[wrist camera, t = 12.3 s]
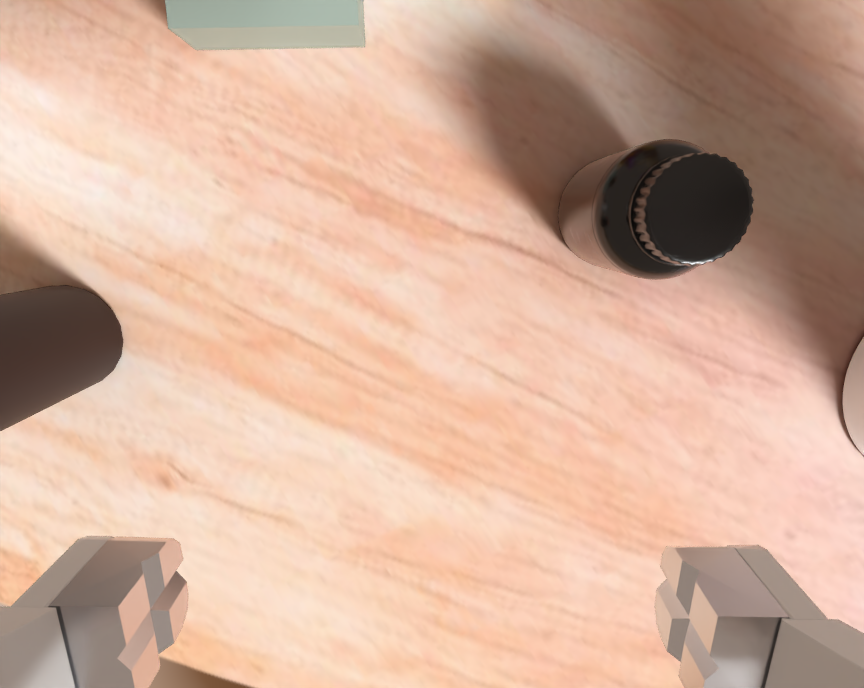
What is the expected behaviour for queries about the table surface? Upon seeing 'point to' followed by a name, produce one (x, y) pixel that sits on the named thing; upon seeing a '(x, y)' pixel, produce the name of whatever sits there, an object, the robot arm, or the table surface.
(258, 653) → the table surface
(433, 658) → the table surface
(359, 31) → the tongs stand
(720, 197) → the supplement bottle
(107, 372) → the vinegar
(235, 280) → the table surface
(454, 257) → the table surface
